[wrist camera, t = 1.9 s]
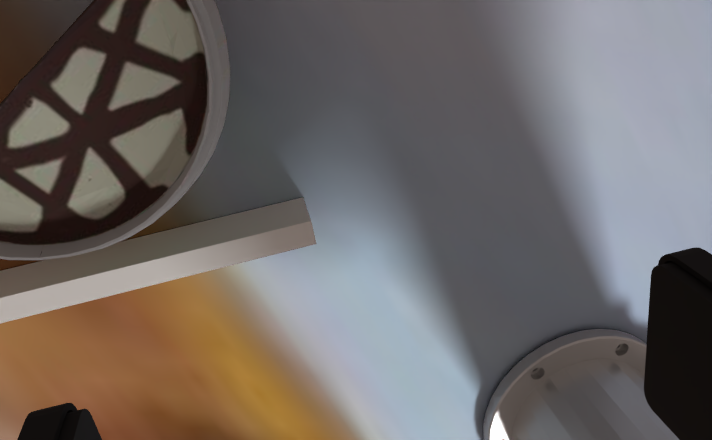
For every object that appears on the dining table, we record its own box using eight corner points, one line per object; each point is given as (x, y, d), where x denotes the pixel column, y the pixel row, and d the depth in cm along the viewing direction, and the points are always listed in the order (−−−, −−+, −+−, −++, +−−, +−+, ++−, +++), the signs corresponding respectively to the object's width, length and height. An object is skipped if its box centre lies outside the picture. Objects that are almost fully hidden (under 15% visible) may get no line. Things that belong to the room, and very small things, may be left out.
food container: (104, 223, 30) (55, 343, 21) (-14, 137, 27) (-126, 231, 18) (285, 37, 28) (316, 82, 19) (178, -74, 26) (156, -82, 17)
